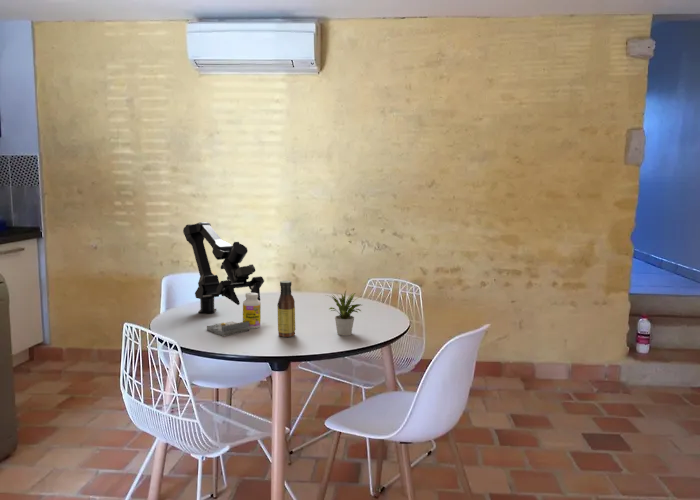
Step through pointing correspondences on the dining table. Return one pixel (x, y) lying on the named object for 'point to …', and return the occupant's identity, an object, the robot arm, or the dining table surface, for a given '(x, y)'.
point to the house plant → (345, 315)
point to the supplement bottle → (252, 310)
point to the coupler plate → (229, 328)
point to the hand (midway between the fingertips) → (249, 302)
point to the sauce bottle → (286, 311)
